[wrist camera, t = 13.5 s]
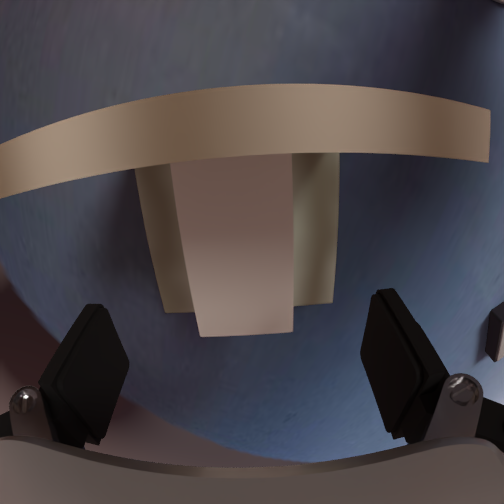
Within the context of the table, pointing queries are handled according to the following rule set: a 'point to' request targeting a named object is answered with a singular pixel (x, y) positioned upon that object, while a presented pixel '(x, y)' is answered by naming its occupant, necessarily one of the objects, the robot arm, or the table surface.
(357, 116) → the beige zigzag bookend
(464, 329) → the table surface
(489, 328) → the small patterned box
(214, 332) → the pale taupe block
